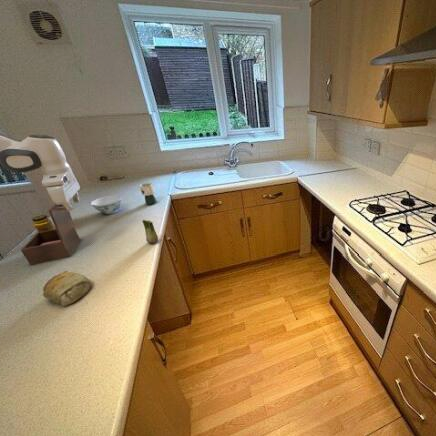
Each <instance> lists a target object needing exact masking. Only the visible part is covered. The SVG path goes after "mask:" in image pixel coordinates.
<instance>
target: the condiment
mask: <svg viewBox="0 0 436 436" xmlns="http://www.w3.org/2000/svg"><path fill="white" fill-rule="evenodd" d="M31 221H32V222H33V226H34V227H35V229H36V231H37V232H42V231H48V230H54V229H56V228H55V226H54V223H53V221H52V219H51V220H50V219H49V217H48V215H46V214H40V215H36V216H34V217H32V218H31Z"/></svg>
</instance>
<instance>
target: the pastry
mask: <svg viewBox="0 0 436 436" xmlns="http://www.w3.org/2000/svg"><path fill="white" fill-rule="evenodd" d="M90 285H91V280H90V279H89V278H88V277H86V276H85V275H82V274H80V273H79V272H76V271H70V270H69V271H68V270H64V271H63V272H61V273H59V274H57V275H54V276H53V277H52V278H50V279H48V281H47V282H46V283H45V284H44V286H43V287H42V291H43V292H42V297H44V299H45V298H46V299H48V300H49V301H51V302H52V303H54V304H58V305H61V306H62V307H68V306H69V305H72V304H74V303H75V302H76V301H78V300H79V299H81V298H83V296H84V295H86V294H87V293H88V292H89V291H90V289H91V287H90Z"/></svg>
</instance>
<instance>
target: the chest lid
mask: <svg viewBox="0 0 436 436" xmlns="http://www.w3.org/2000/svg"><path fill="white" fill-rule="evenodd" d="M70 205H72V203H71V202H70ZM72 206H73V205H72ZM48 213H49V216H50V218H51V222H52V224H53V226H54V228H55V229H56V231H57V233H58V235H59V238H60V240H61V241H63V240H64V239H65V237H66V236H67V235H68V233H69V232H70V230H71V229H72V227H73V226H74V227H75V223H74V220H73V218H72V215H71V213H70V211H67V209H66V207H65V206H63V205H62V204H56V203H54V204H53V205H52V206H51V207H50V208H49V209H48Z"/></svg>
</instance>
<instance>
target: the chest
mask: <svg viewBox="0 0 436 436" xmlns="http://www.w3.org/2000/svg"><path fill="white" fill-rule="evenodd" d="M57 240H60V238H59V235H58V233H57V231H56V228H55V229H54V230H48V231H42V232H38V231H37V232H35V234H34V235H33V236H31V238H30V239H29V241H27V243H25V244H24V246H23V247H22V248H21V249H20V252H21V253H22V255H23V256H24V257H25V259H26V260H27V262H28V264H29V265H30V266H34V265H38V264H42V263H47V262H51V261H57V260H60V259H65V258H69V257H71V256H72V255H73V253H74V251H75V250H76V248H77V246H78V244H79V243H80V241H81V238H80V235H79V234H78V232H77V230H76V228H75V225H74V226H73V227H72V229H71V230H70V232H69V233H68V235H67V236H66V237H65V239H64V240H63V241H61V242H56V243H50V244H45V245H41V244H42V243H47V242H52V241H57Z"/></svg>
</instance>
